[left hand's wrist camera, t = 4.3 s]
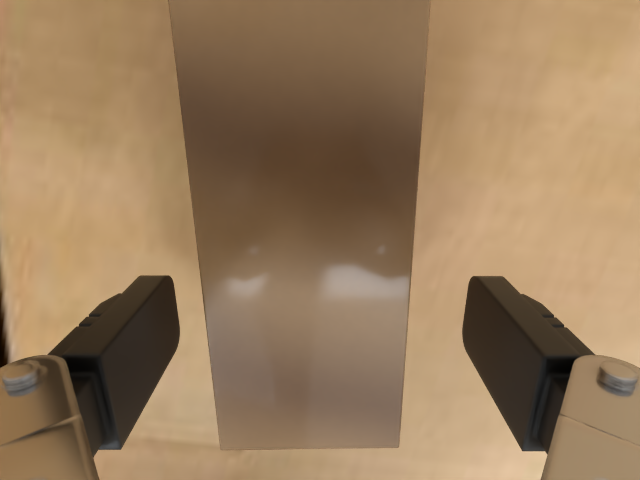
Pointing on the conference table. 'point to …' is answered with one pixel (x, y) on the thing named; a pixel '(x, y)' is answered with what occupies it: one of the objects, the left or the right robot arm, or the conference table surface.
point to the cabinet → (304, 210)
